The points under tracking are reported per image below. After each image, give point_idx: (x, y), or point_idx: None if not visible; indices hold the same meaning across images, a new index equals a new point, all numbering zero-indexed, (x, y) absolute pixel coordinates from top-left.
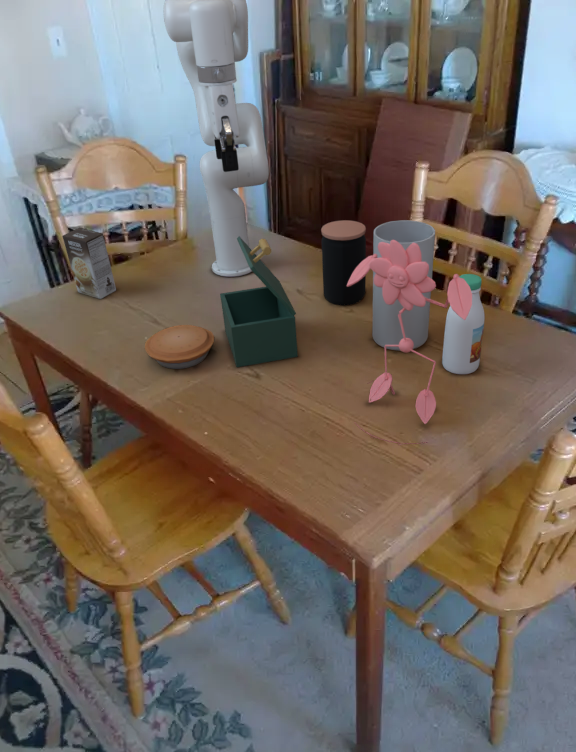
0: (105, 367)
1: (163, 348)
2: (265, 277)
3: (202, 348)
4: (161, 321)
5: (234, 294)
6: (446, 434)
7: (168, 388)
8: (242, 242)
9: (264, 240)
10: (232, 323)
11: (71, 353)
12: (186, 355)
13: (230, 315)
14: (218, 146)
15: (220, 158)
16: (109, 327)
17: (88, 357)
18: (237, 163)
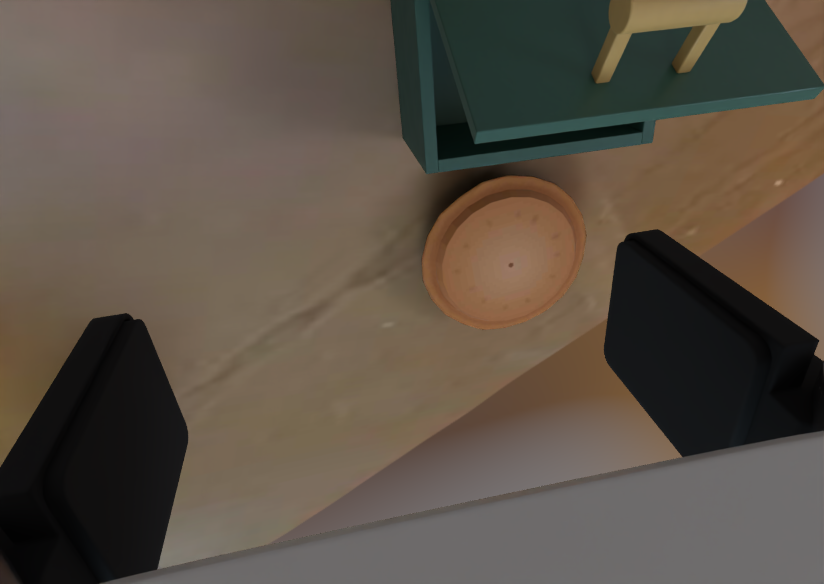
0: (487, 378)
1: (545, 292)
2: (732, 21)
3: (561, 204)
4: (309, 302)
5: (435, 124)
6: None
7: (607, 259)
8: (553, 118)
9: (662, 1)
10: (631, 138)
11: (415, 442)
12: (577, 239)
13: (583, 143)
14: (152, 527)
15: (178, 413)
16: (319, 402)
17: (439, 412)
18: (690, 259)
